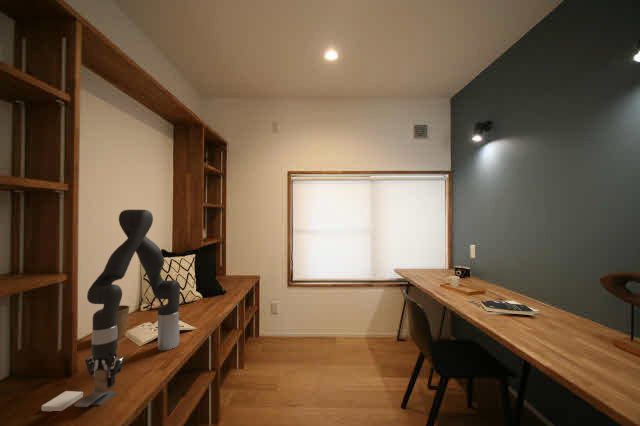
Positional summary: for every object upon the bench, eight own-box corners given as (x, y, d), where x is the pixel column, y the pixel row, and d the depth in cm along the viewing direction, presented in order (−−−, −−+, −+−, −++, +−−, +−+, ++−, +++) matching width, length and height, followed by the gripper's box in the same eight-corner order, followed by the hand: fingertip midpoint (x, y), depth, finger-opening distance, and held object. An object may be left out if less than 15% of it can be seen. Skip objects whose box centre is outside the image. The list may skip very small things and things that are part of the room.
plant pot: (130, 339, 147) (130, 309, 147) (95, 347, 137) (95, 316, 138) (128, 330, 158) (128, 303, 159) (95, 337, 149) (95, 308, 149)
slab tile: (65, 391, 100) (41, 406, 92) (83, 391, 99) (60, 407, 91) (65, 396, 100) (41, 411, 92) (83, 397, 99) (59, 413, 91)
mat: (102, 391, 102) (102, 390, 102) (117, 392, 101) (117, 391, 101) (84, 404, 95) (84, 403, 95) (100, 405, 94) (100, 404, 94)
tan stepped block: (103, 386, 101) (103, 364, 102) (114, 386, 101) (114, 364, 101) (74, 406, 90) (74, 382, 91) (86, 406, 90) (86, 382, 90)
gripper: (130, 335, 103) (130, 380, 102) (96, 334, 104) (96, 379, 104) (114, 344, 95) (114, 393, 95) (77, 343, 97) (77, 391, 96)
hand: (104, 385), depth 99 cm, fingers closed on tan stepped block, 4 cm apart
